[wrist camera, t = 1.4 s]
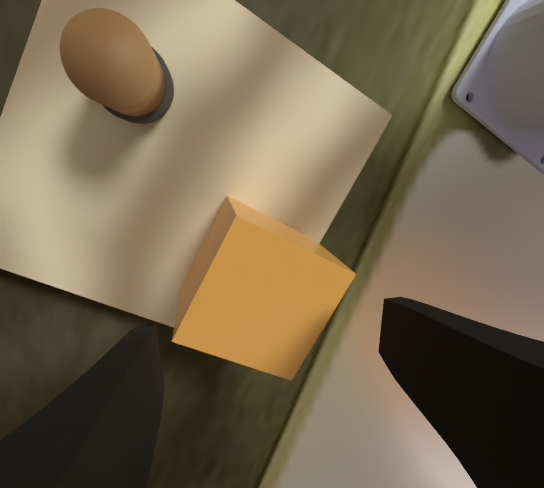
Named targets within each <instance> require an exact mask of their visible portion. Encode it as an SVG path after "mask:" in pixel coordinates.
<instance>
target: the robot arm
mask: <svg viewBox="0 0 544 488" xmlns="http://www.w3.org/2000/svg"><path fill="white" fill-rule="evenodd" d="M467 94H468V96H469V99H468V101H467V100H466V96H467ZM451 96H452V99H453V101H454V102H455V103H456V104H458V105H459V106H460V107H461V108H463V109H464V110H465V111H466V112H468V113H469V114H470V115H471V116H472V117H474V118H475V119H476V120H477V121H479V122H480V123H481V124H482V125H483V126H485V127H486V128H487V129H488V130H490V131H491V132H492V133H493V134H494V135H496V136H497V137H498V138H499V139H501V140H502V141H503V142H504V143H505V144H507V145H508V146H509V147H510V148H512V149H513V150H514V151H515V152H516V153H518V154H519V155H520V156H521V157H523V158H524V159H525V160H526V161H527V162H529V163H530V164H531V165H532V166H534V167H535V168H536V169H537V170H539V171H540V172H541V173H542V174H544V0H506V1H505V2H504V4H503V6H502V7H501V9H500V11H499V12H498V14H497V16H496V17H495V19H494V21H493V22H492V24H491V26H490V28H489V29H488V31H487V33H486V34H485V36H484V38H483V39H482V41H481V43H480V44H479V46H478V48H477V49H476V51H475V53H474V54H473V56H472V58H471V59H470V61H469V63H468V64H467V66H466V68H465V69H464V71H463V73H462V74H461V76H460V78H459V79H458V81H457V83H456V84H455V86H454V88H453V90H452V95H451ZM379 353H380V355H381V357H382V359H383V360H384V362H385V364H386V365H387V367H388V369H389V370H390V372H391V374H392V375H393V377H394V378H395V380H396V381H397V382H398V384H399V385H400V386H401V387H402V389H403V390H404V391H405V393H406V394H407V395H408V396H409V397H410V399H411V400H412V401H413V403H414V404H415V405H416V406H417V407H418V409H419V410H420V411H421V413H422V414H423V415H424V416H425V418H426V419H427V420H428V421H429V422H430V424H431V425H432V426H433V427H434V429H435V430H436V431H437V432H438V434H439V435H440V436H441V437H442V439H443V440H444V441H445V442H446V444H447V445H448V446H449V448H450V449H451V450H452V451H453V453H454V454H455V456H456V457H457V458H458V460H459V461H460V462H461V464H462V466H463V467H464V469H465V470H466V472H467V473H468V475H469V476H470V478H471V479H472V480H473V482H474V484H475V485H476V487H477V488H544V342H543V341H539V340H535V339H531V338H528V337H524V336H521V335H517V334H514V333H511V332H508V331H505V330H501V329H498V328H495V327H492V326H489V325H486V324H483V323H479V322H477V321H474V320H471V319H468V318H465V317H462V316H459V315H456V314H453V313H451V312H448V311H445V310H442V309H439V308H436V307H433V306H430V305H428V304H425V303H421V302H418V301H415V300H412V299H408V298H403V297H396V298H387V299H384V304H383V315H382V324H381V333H380V343H379ZM163 394H164V378H163V370H162V363H161V356H160V349H159V342H158V334H157V327H156V325H154V326H145V327H136V328H133V329H132V330H131V331H129V332H128V333H127V334H126V335H125V336H124V337H123V338H122V339H121V340H120V341H119V342H118V343H117V344H116V345H115V346H114V347H113V348H112V349H111V350H109V351H108V352H107V353H106V354H105V355H104V356H103V357H102V358H101V359H100V360H99V361H98V362H97V363H96V364H94V365H93V366H92V367H91V368H90V369H89V370H88V371H87V372H86V373H85V374H83V375H82V376H81V377H80V378H79V379H78V380H76V381H75V382H74V383H73V384H72V385H70V386H69V387H68V388H67V389H66V390H65V391H63V392H62V393H61V394H60V395H59V396H58V397H56V398H55V399H54V400H53V401H52V402H50V403H49V404H48V405H47V406H45V407H44V408H43V409H42V410H40V411H39V412H38V413H36V414H35V415H34V416H33V417H31V418H30V419H29V420H27V421H26V422H25V423H23V424H22V425H21V426H19V427H18V428H16V429H15V430H14V431H12V432H11V433H10V434H8V435H7V436H6V437H4V438H3V439H1V440H0V488H146V484H147V480H148V475H149V471H150V467H151V462H152V458H153V453H154V449H155V444H156V440H157V435H158V430H159V426H160V421H161V414H162V405H163Z"/></svg>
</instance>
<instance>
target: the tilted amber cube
mask: <svg viewBox="0 0 544 488" xmlns="http://www.w3.org/2000/svg"><path fill="white" fill-rule="evenodd" d="M355 275H356V273H354V272H353V271H352V270H351V269H349V268H348V267H347V266H346V265H345V264H343V263H342V262H341V261H340V260H338V259H337V258H336V257H335V256H334V255H332V254H331V253H330V252H329V251H327V250H326V249H325V248H324V247H323V246H321V245H320V244H319V243H318V242H316V241H315V240H314V239H312V238H310V237H308V236H306V235H304V234H302V233H300V232H298V231H296V230H294V229H292V228H290V227H288V226H286V225H284V224H282V223H281V222H279V221H277V220H275V219H273V218H271V217H269V216H267V215H265V214H263V213H261V212H259V211H257V210H255V209H253V208H251V207H249V206H247V205H245V204H243V203H241V202H239V201H237V200H235V199H233V198H231V197H229V196H226V198H225V200H224V202H223V204H222V206H221V208H220V210H219V212H218V214H217V216H216V218H215V220H214V222H213V224H212V226H211V228H210V230H209V232H208V234H207V236H206V238H205V240H204V242H203V244H202V246H201V248H200V250H199V252H198V254H197V256H196V258H195V260H194V262H193V264H192V266H191V268H190V270H189V272H188V274H187V276H186V278H185V280H184V282H183V284H182V287H181V292H180V298H179V303H178V309H177V314H176V320H175V325H174V331H173V336H172V342H174V343H177V344H180V345H183V346H186V347H190V348H193V349H196V350H199V351H202V352H205V353H208V354H211V355H214V356H217V357H220V358H223V359H226V360H229V361H233V362H236V363H239V364H242V365H245V366H248V367H251V368H254V369H257V370H260V371H263V372H266V373H269V374H272V375H276V376H279V377H282V378H285V379H288V380H291V381H292V379H293V378H294V376H295V374H296V373H297V371H298V370H299V368H300V366H301V365H302V363H303V361H304V360H305V358H306V356H307V355H308V353H309V351H310V350H311V348H312V346H313V345H314V343H315V341H316V340H317V338H318V337H319V335H320V333H321V332H322V330H323V328H324V327H325V325H326V323H327V322H328V320H329V318H330V317H331V315H332V313H333V312H334V310H335V308H336V307H337V305H338V303H339V302H340V300H341V299H342V297H343V295H344V294H345V292H346V290H347V289H348V287H349V285H350V284H351V282H352V280H353V279H354V277H355Z"/></svg>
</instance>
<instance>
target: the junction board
mask: <svg viewBox="0 0 544 488" xmlns="http://www.w3.org/2000/svg"><path fill="white" fill-rule="evenodd" d="M392 116H393V115H391V114H390V113H388V112H387V111H386V110H384V109H383V108H382V107H380V106H379V105H377V104H376V103H375V102H373V101H372V100H371V99H369V98H368V97H366V96H365V95H364V94H362V93H361V92H360V91H358V90H357V89H356V88H354V87H353V86H351V85H350V84H349V83H347V82H346V81H345V80H343V79H342V78H340V77H339V76H338V75H336V74H335V73H334V72H332V71H331V70H329V69H328V68H327V67H325V66H324V65H323V64H321V63H320V62H319V61H317V60H316V59H314V58H313V57H312V56H310V55H309V54H308V53H306V52H305V51H303V50H302V49H301V48H299V47H298V46H297V45H295V44H294V43H292V42H291V41H290V40H288V39H287V38H286V37H284V36H283V35H282V34H280V33H279V32H277V31H276V30H275V29H273V28H272V27H271V26H269V25H268V24H266V23H265V22H264V21H262V20H261V19H260V18H258V17H257V16H255V15H254V14H253V13H251V12H250V11H249V10H247V9H246V8H245V7H243V6H242V5H240V4H239V3H238V2H236V1H235V0H42V1H41V4H40V7H39V10H38V13H37V16H36V18H35V21H34V24H33V27H32V30H31V32H30V35H29V38H28V41H27V44H26V47H25V49H24V52H23V55H22V58H21V61H20V64H19V66H18V69H17V72H16V75H15V78H14V81H13V83H12V86H11V89H10V92H9V95H8V98H7V100H6V103H5V106H4V109H3V112H2V114H1V117H0V269H3V270H6V271H9V272H12V273H15V274H18V275H21V276H24V277H27V278H30V279H33V280H36V281H39V282H42V283H44V284H47V285H50V286H53V287H56V288H59V289H62V290H65V291H68V292H71V293H74V294H77V295H80V296H83V297H85V298H88V299H91V300H94V301H97V302H100V303H103V304H106V305H109V306H112V307H115V308H118V309H121V310H124V311H127V312H129V313H132V314H135V315H138V316H141V317H144V318H147V319H150V320H153V321H156V322H159V323H162V324H165V325H168V326H170V327H173V328H174V325H175V320H176V314H177V309H178V303H179V298H180V292H181V287H182V284H183V282H184V280H185V278H186V276H187V274H188V272H189V270H190V268H191V266H192V264H193V262H194V260H195V258H196V256H197V254H198V252H199V250H200V248H201V246H202V244H203V242H204V240H205V238H206V236H207V234H208V232H209V230H210V228H211V226H212V224H213V222H214V220H215V218H216V216H217V214H218V212H219V210H220V208H221V206H222V204H223V202H224V200H225V198H226V196H229V197H231V198H233V199H235V200H237V201H239V202H241V203H243V204H245V205H247V206H249V207H251V208H253V209H255V210H257V211H259V212H261V213H263V214H265V215H267V216H269V217H271V218H273V219H275V220H277V221H279V222H281V223H282V224H284V225H286V226H288V227H290V228H292V229H294V230H296V231H298V232H300V233H302V234H304V235H306V236H308V237H310V238H312V239H314V240H315V241H316V242H318V243H320V241H321V240H322V238H323V236H324V234H325V233H326V231H327V229H328V227H329V226H330V224H331V222H332V220H333V219H334V217H335V215H336V214H337V212H338V210H339V208H340V207H341V205H342V203H343V201H344V200H345V198H346V196H347V194H348V193H349V191H350V189H351V187H352V186H353V184H354V182H355V180H356V179H357V177H358V175H359V173H360V172H361V170H362V168H363V166H364V165H365V163H366V161H367V159H368V158H369V156H370V154H371V152H372V151H373V149H374V147H375V145H376V144H377V142H378V140H379V138H380V137H381V135H382V133H383V131H384V130H385V128H386V126H387V124H388V123H389V121H390V119H391V117H392Z"/></svg>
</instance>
